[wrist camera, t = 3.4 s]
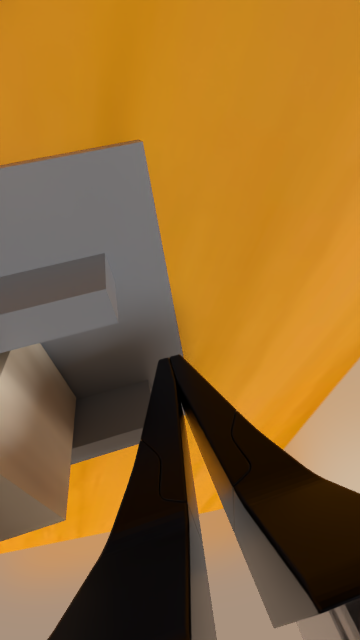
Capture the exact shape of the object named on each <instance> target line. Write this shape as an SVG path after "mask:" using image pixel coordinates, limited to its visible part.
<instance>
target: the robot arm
mask: <svg viewBox="0 0 360 640" xmlns="http://www.w3.org/2000/svg"><path fill="white" fill-rule="evenodd" d="M182 407H183V408H182ZM183 410H184V413H185V416H186V418H187V421H188V423H189V425H190V428H191V430H192V433H193V435H194V437H195V440H196V442H197V445H198V447H199V449H200V452H201V454H202V457H203V459H204V461H205V464H206V466H207V469H208V471H209V473H210V476H211V478H212V481H213V483H214V485H215V488H216V490H217V493H218V495H219V497H220V500H221V502H222V505H223V507H224V509H225V512H226V514H227V517H228V519H229V521H230V524H231V526H232V529H233V531H234V533H235V536H236V538H237V541H238V543H239V546H240V548H241V550H242V553H243V555H244V558H245V560H246V562H247V565H248V567H249V570H250V572H251V574H252V577H253V579H254V581H255V584H256V586H257V589H258V591H259V594H260V596H261V598H262V601H263V603H264V605H265V608H266V610H267V613H268V615H269V618H270V620H271V622H272V625H273V627H274V628H277V627H280V626H283V625H287V624H290V623H293V622H297V625H298V627H299V630H300V633H301V635H302V638H303V640H360V494H359V493H357V492H355V491H352V490H349V489H347V488H345V487H343V486H340V485H338V484H335V483H333V482H331V481H328V480H326V479H324V478H322V477H320V476H318V475H316V474H315V473H313V472H312V471H310V470H309V469H307V468H306V467H304V466H303V465H302V464H300V463H299V462H298V461H297V460H295V459H294V458H293V457H292V456H290V455H289V454H288V453H286V452H285V451H284V450H283V449H281V448H280V447H279V446H277V445H276V444H275V443H273V442H272V441H271V440H270V439H268V438H267V437H266V436H265V435H264V434H262V433H261V432H260V431H259V430H257V429H256V428H255V427H254V426H253V425H252V424H251V423H250V422H249V421H248V420H246V419H245V418H244V417H243V416H242V415H241V414H240V413H239V412H238V411H236V409H235V408H234V407H233V406H232V405H231V404H230V403H229V402H228V401H227V400H226V399H225V398H224V397H223V396H222V395H221V394H220V393H219V392H218V391H217V390H216V389H215V388H214V387H213V386H212V385H211V384H210V383H208V382H207V381H206V380H205V379H204V378H203V377H202V376H201V375H200V374H199V373H198V372H197V371H196V370H195V369H194V368H193V367H192V366H191V365H190V364H189V363H188V362H187V361H186V360H185V359H184V358H183V357H182V356H181V355H179V354H177V355H174V356H170V359H169V358H168V357H166V358H163V359H160V360H159V361H158V364H157V369H156V373H155V377H154V382H153V386H152V391H151V395H150V399H149V404H148V408H147V412H146V417H145V421H144V426H143V430H142V434H141V441H140V443H139V447H138V451H137V455H136V459H135V463H134V467H133V470H132V473H131V476H130V479H129V482H128V485H127V488H126V491H125V494H124V497H123V499H122V502H121V505H120V508H119V511H118V514H117V516H116V519H115V522H114V525H113V528H112V530H111V533H110V536H109V538H108V541H107V543H106V545H105V547H104V549H103V551H102V553H101V555H100V557H99V559H98V560H97V562H96V564H95V565H94V567H93V568H92V570H91V572H90V573H89V575H88V576H87V578H86V580H85V581H84V583H83V584H82V586H81V588H80V589H79V591H78V592H77V594H76V596H75V597H74V599H73V600H72V602H71V604H70V605H69V607H68V608H67V610H66V612H65V613H64V615H63V617H62V618H61V620H60V621H59V623H58V625H57V626H56V628H55V630H54V631H53V632H52V634H51V635H50V637H49V638H48V639H47V640H217V638H216V631H215V624H214V617H213V611H212V604H211V597H210V590H209V583H208V577H207V570H206V563H205V556H204V549H203V542H202V535H201V529H200V522H199V515H198V508H197V501H196V494H195V487H194V481H193V474H192V467H191V460H190V453H189V446H188V440H187V433H186V426H185V419H184V413H183Z"/></svg>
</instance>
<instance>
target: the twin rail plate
mask: <svg viewBox="0 0 360 640" xmlns="http://www.w3.org/2000/svg"><path fill="white" fill-rule="evenodd" d="M38 343H40V344H41V345H42V347H43V348H44V350H45V351H46V353H47V354H48V356H49V357H50V359H51V360H52V362H53V363H54V365H55V366H56V368H57V369H58V371H59V372H60V374H61V375H62V377H63V378H64V380H65V381H66V383H67V384H68V386H69V387H70V389H71V390H72V392H73V393H74V395H75V396H76V408H75V419H74V431H73V442H72V453H71V464H75V463H78V462H81V461H84V460H88V459H91V458H94V457H97V456H101V455H104V454H107V453H110V452H114V451H117V450H120V449H123V448H127V447H130V446H133V445H137V444H139V443H140V441H141V434H142V430H143V426H144V421H145V417H146V412H147V408H148V404H149V399H150V395H151V391H152V386H153V382H154V377H155V373H156V369H157V364H158V361H159V360H160V359H163V358H166V357H168V358H169V359H170V356H174V355H177V354H179V355H181V356H182V357H183V353H182V347H181V342H180V337H179V332H178V326H177V321H176V316H175V310H174V305H173V300H172V295H171V289H170V284H169V279H168V273H167V268H166V263H165V258H164V252H163V247H162V242H161V236H160V231H159V226H158V221H157V215H156V210H155V205H154V199H153V194H152V189H151V184H150V178H149V173H148V168H147V162H146V157H145V152H144V147H143V142H142V141H140V140H134V141H129V142H124V143H118V144H113V145H108V146H102V147H97V148H92V149H86V150H81V151H76V152H70V153H65V154H60V155H54V156H49V157H44V158H38V159H33V160H27V161H22V162H17V163H11V164H6V165H1V166H0V353H3V352H7V351H11V350H15V349H19V348H23V347H26V346H30V345H34V344H38ZM182 408H183V407H182ZM183 413H184V410H183ZM184 415H185V413H184ZM71 464H70V465H71Z"/></svg>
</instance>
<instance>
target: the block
mask: <svg viewBox="0 0 360 640" xmlns="http://www.w3.org/2000/svg"><path fill="white" fill-rule="evenodd" d="M75 408H76V396H75V395H74V393H73V392H72V390H71V389H70V387H69V386H68V384H67V383H66V381H65V380H64V378H63V377H62V375H61V374H60V372H59V371H58V369H57V368H56V366H55V365H54V363H53V362H52V360H51V359H50V357H49V356H48V354H47V353H46V351H45V350H44V348H43V347H42V345H41V344H40V343H38V344H34V345H30V346H26V347H23V348H19V349H15V350H11V351H7V352H3V353H0V541H3V540H6V539H9V538H13V537H16V536H19V535H22V534H25V533H28V532H31V531H34V530H37V529H40V528H43V527H46V526H49V525H52V524H55V523H58V522H61V521H64V520H66V510H67V498H68V487H69V476H70V464H71V453H72V442H73V431H74V419H75Z"/></svg>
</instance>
